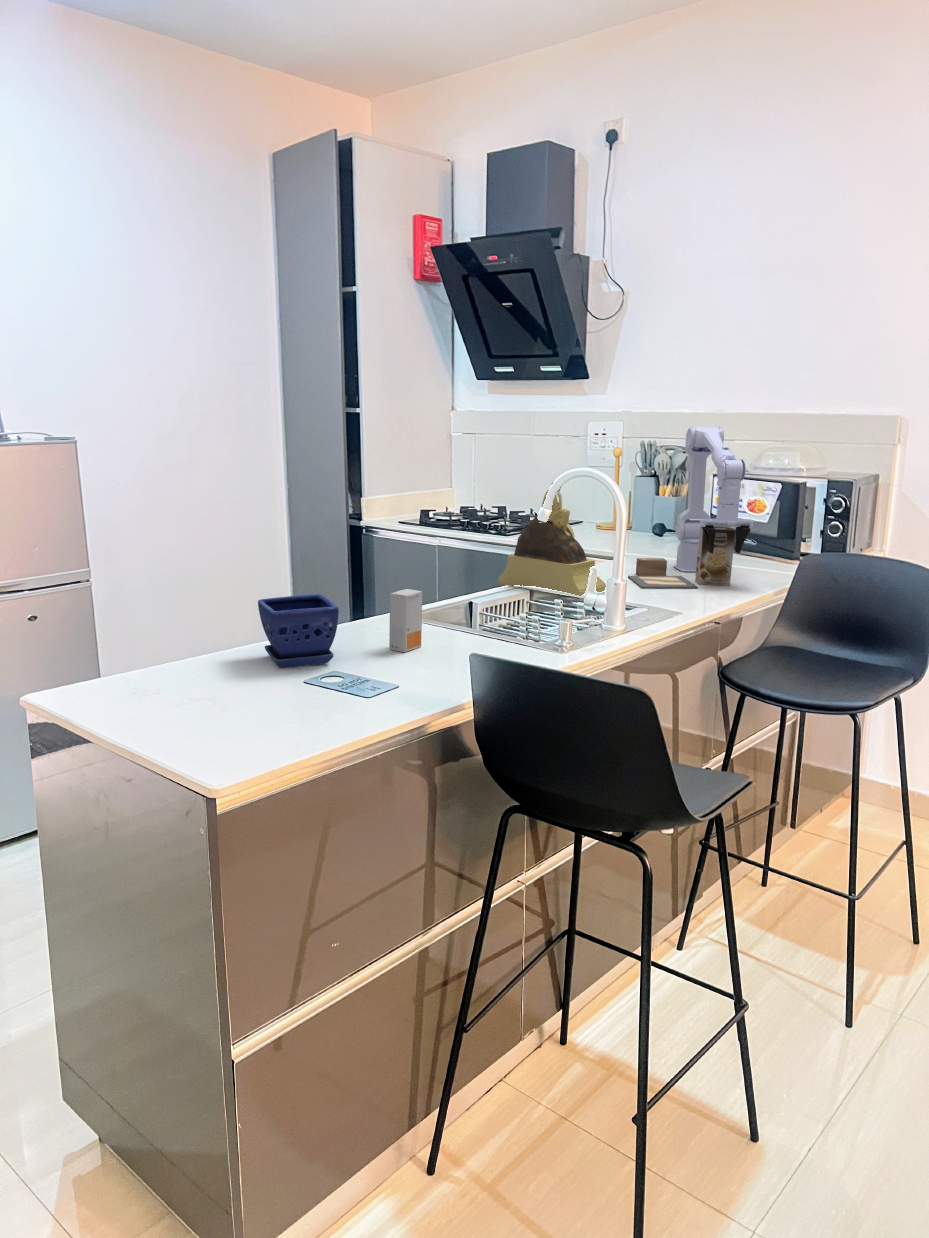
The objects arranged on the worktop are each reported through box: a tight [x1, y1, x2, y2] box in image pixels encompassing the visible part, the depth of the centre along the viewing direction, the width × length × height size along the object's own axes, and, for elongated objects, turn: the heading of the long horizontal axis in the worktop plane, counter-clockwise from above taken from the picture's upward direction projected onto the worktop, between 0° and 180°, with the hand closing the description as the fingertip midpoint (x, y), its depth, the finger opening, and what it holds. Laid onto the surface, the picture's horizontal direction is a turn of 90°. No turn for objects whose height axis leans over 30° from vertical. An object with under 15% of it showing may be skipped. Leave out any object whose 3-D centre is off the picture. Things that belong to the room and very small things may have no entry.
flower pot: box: [257, 593, 340, 669], centre depth 178 cm, size 13×13×12 cm
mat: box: [627, 575, 699, 590], centre depth 263 cm, size 16×16×1 cm
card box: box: [635, 557, 668, 576], centre depth 274 cm, size 4×8×5 cm, turn 94°
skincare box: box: [388, 588, 423, 653], centre depth 188 cm, size 6×4×12 cm
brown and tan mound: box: [497, 480, 607, 596], centre depth 250 cm, size 28×13×30 cm, turn 48°
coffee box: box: [694, 526, 736, 586], centre depth 262 cm, size 9×6×16 cm
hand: (724, 552), depth 255 cm, fingers open, 7 cm apart
